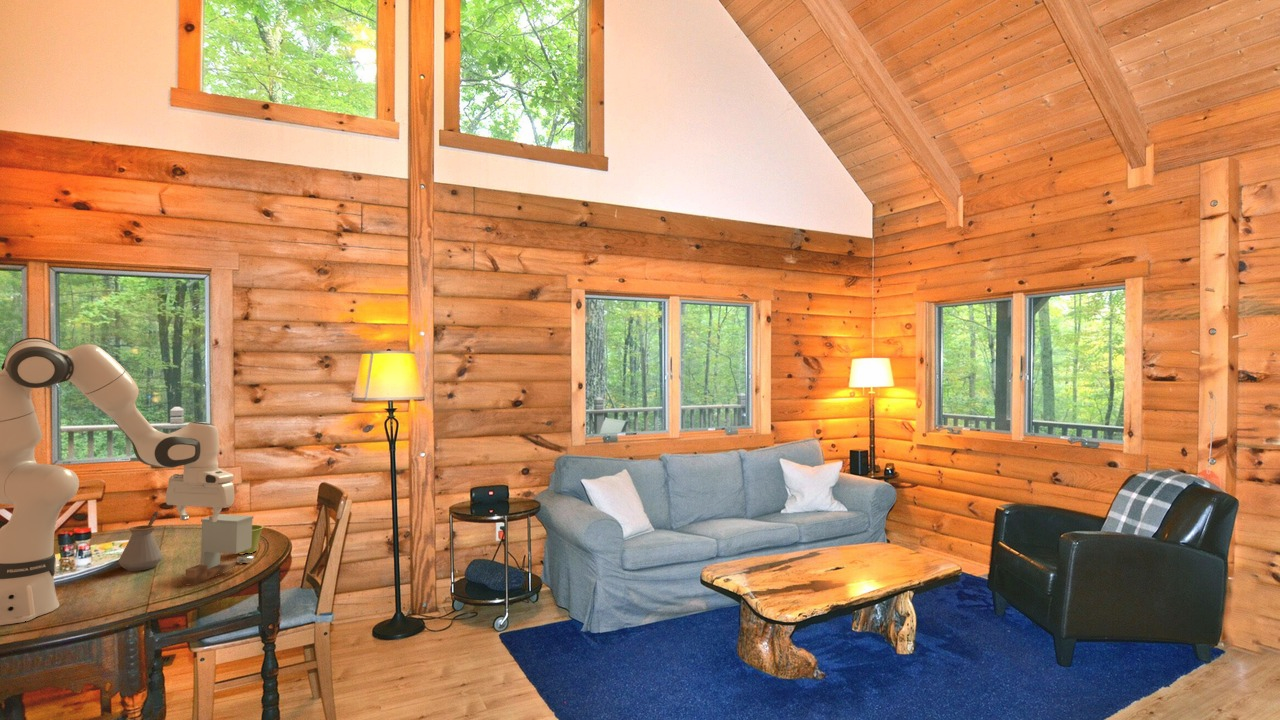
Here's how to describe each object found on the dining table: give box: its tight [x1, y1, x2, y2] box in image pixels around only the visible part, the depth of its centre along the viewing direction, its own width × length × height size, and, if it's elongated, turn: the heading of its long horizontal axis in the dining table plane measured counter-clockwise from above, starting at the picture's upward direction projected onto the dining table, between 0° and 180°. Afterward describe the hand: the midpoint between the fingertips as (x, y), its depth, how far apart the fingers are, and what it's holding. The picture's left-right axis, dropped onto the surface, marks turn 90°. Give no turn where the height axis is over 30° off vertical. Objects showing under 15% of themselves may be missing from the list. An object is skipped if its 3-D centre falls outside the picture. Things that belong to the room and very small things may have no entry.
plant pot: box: [239, 524, 264, 554], centre depth 234 cm, size 9×9×9 cm
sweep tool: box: [184, 560, 237, 586], centre depth 208 cm, size 18×3×4 cm, turn 174°
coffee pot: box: [118, 510, 164, 572], centre depth 219 cm, size 21×12×15 cm, turn 21°
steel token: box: [236, 554, 255, 563], centre depth 223 cm, size 5×5×2 cm
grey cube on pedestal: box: [200, 513, 254, 569], centre depth 214 cm, size 7×12×17 cm, turn 84°
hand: (198, 520), depth 202 cm, fingers open, 8 cm apart
